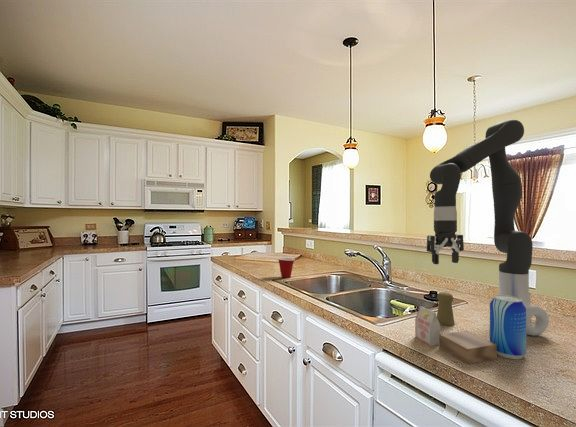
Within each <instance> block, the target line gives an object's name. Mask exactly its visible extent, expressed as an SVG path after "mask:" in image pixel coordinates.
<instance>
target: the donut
mask: <svg viewBox="0 0 576 427" xmlns="http://www.w3.org/2000/svg"><path fill="white" fill-rule="evenodd" d="M534 316H535V321H534V323H532V324H531V319H532V318H533V317H534ZM549 323H550V318H549V315H548V313H547V311H546V310H545V309H544V308H543V307H541V306H539V305H537V304H536V305H535V304H530V305H529V306H526V335H529V336H532V337H533V336H534V337H536V336H540V335H542V334H543V333H545V332H546V331H547V329H548V328H549Z"/></svg>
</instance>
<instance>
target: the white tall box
mask: <svg viewBox="0 0 576 427" xmlns="http://www.w3.org/2000/svg"><path fill="white" fill-rule="evenodd" d="M414 320H415V321H414V322H415V325H414V326H415V329H414V330H415V331H414V334H415V336H414V337H415V338H416V339H418V340H420V341H421V342H423V343H424V344H426V345H428V346H429V347H431V346H439V334H441V325H440V323H439V321H438V319H437V313H436V312H435V311H432V310H431V309H428V308H427V307H424V306H422V305H419V307H418V311H417V313H416V316H415V319H414Z"/></svg>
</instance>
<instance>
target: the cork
mask: <svg viewBox="0 0 576 427" xmlns="http://www.w3.org/2000/svg"><path fill="white" fill-rule="evenodd" d="M436 299H437V300H438V303H437V304H438V306H437V313H436V316H437V319H438V321H439V323H440V326H445V327H453V326H455V325H456V323H455V317H454V311H453V304H452V303H453V302H454V296H453V293H450V292H446V291H444V292H443V291H441V292H438V294H437V296H436Z"/></svg>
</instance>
